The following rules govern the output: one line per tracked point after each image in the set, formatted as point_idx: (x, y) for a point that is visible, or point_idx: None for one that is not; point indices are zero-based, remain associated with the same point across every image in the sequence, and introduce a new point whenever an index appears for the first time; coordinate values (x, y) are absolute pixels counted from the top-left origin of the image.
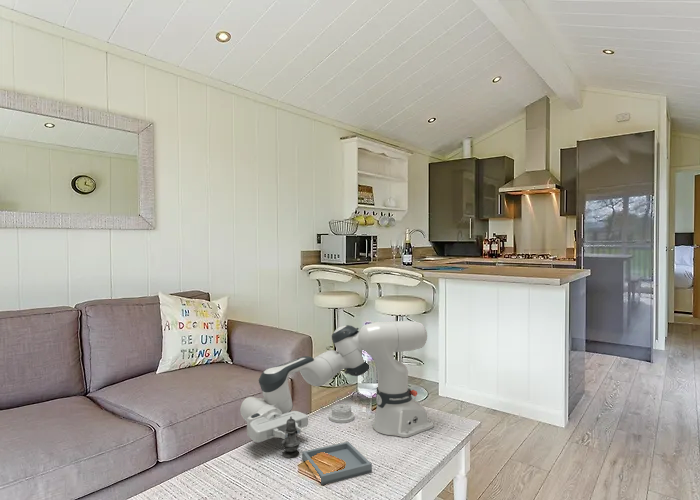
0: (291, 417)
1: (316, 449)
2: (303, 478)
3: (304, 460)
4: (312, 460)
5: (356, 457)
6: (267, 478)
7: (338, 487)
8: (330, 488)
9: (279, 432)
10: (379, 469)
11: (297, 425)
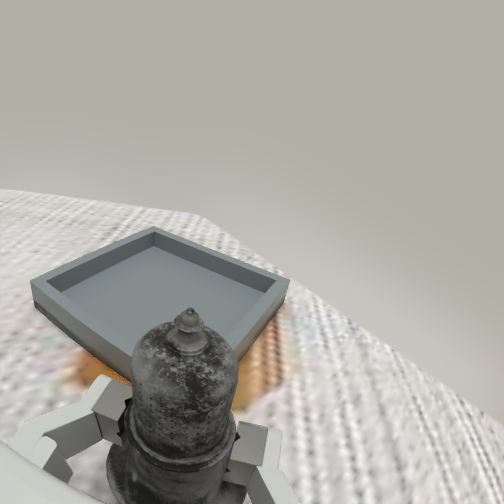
0: (190, 314)
1: None
2: (298, 349)
3: None
4: (234, 329)
5: (106, 266)
6: (399, 429)
7: None
8: None
9: (286, 481)
10: None
11: (63, 409)
